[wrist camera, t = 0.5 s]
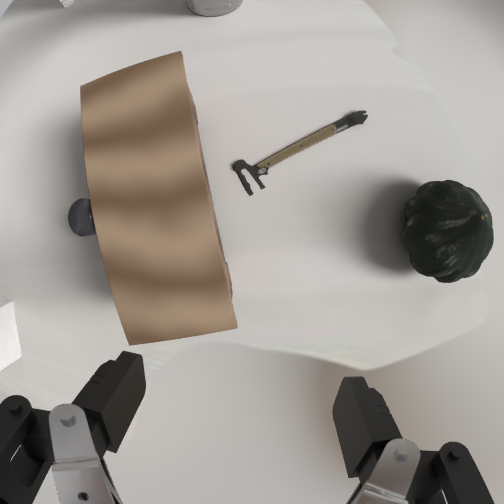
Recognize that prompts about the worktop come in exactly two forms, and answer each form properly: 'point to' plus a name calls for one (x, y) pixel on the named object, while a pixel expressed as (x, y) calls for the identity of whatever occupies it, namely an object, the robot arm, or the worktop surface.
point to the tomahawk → (296, 148)
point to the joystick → (82, 218)
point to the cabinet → (154, 203)
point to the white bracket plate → (66, 2)
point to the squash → (447, 231)
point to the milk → (8, 334)
